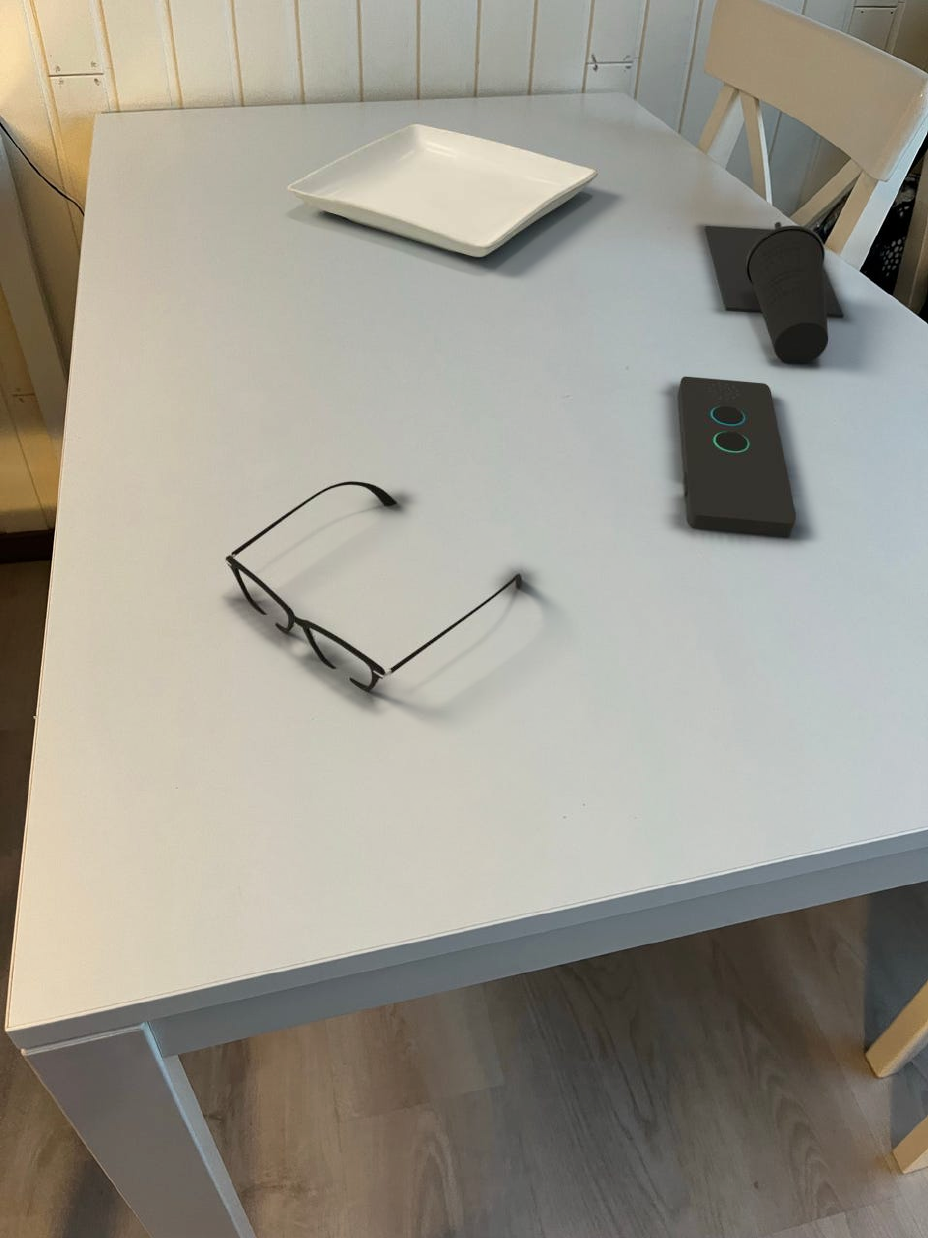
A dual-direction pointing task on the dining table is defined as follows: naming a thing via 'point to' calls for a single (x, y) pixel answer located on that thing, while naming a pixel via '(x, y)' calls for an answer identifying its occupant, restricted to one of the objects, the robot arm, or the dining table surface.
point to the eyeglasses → (306, 625)
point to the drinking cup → (791, 291)
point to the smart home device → (733, 458)
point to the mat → (731, 269)
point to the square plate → (443, 188)
